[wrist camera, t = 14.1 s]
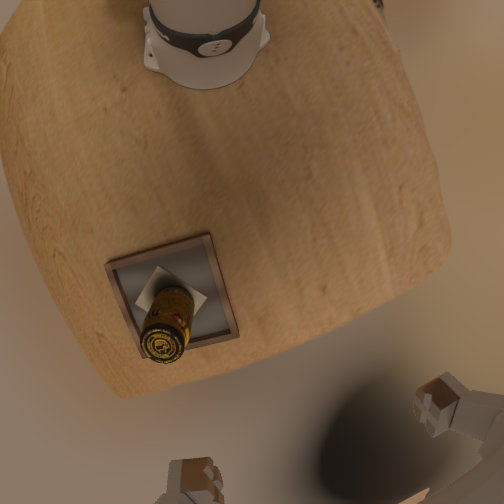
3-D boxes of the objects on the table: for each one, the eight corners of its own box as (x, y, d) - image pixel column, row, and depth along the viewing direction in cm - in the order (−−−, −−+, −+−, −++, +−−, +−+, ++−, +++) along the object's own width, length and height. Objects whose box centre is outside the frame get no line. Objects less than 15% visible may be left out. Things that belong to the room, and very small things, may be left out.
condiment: (181, 332, 43) (172, 379, 31) (135, 303, 41) (110, 342, 30) (207, 296, 42) (204, 337, 31) (158, 265, 40) (137, 295, 29)
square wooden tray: (109, 261, 40) (103, 265, 38) (209, 232, 41) (209, 234, 39) (145, 351, 44) (142, 358, 42) (238, 330, 45) (239, 337, 43)
